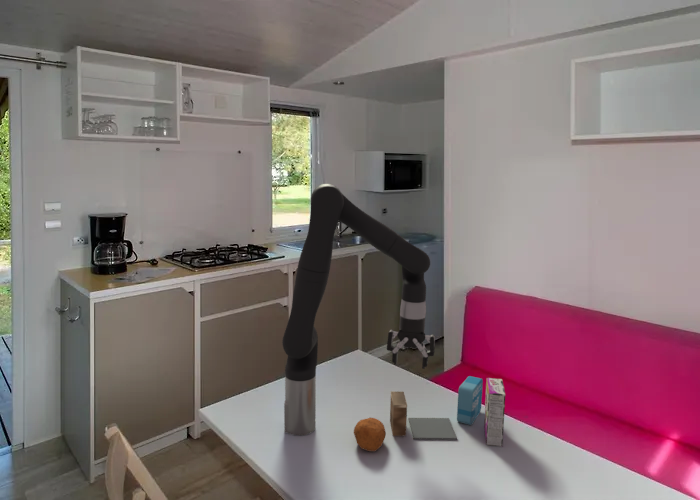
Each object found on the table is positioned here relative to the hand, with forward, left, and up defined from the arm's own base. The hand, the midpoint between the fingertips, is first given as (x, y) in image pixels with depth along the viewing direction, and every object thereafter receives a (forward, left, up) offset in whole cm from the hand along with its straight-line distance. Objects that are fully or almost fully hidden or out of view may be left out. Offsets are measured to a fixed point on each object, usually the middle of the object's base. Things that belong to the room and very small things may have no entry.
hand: (409, 365), depth 154 cm
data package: (+21, +7, -20) cm, 30 cm away
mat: (+7, -1, -20) cm, 21 cm away
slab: (-3, -1, -20) cm, 20 cm away
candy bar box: (+25, -5, -20) cm, 33 cm away
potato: (-12, -10, -20) cm, 26 cm away
